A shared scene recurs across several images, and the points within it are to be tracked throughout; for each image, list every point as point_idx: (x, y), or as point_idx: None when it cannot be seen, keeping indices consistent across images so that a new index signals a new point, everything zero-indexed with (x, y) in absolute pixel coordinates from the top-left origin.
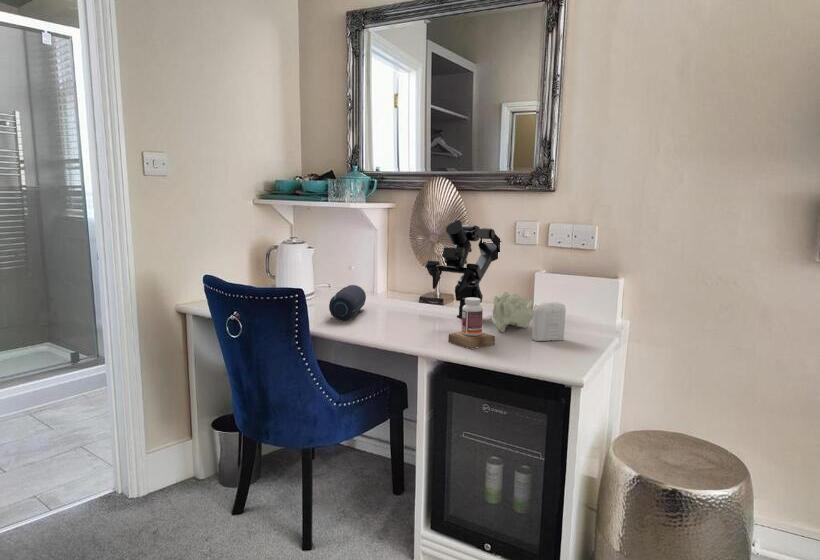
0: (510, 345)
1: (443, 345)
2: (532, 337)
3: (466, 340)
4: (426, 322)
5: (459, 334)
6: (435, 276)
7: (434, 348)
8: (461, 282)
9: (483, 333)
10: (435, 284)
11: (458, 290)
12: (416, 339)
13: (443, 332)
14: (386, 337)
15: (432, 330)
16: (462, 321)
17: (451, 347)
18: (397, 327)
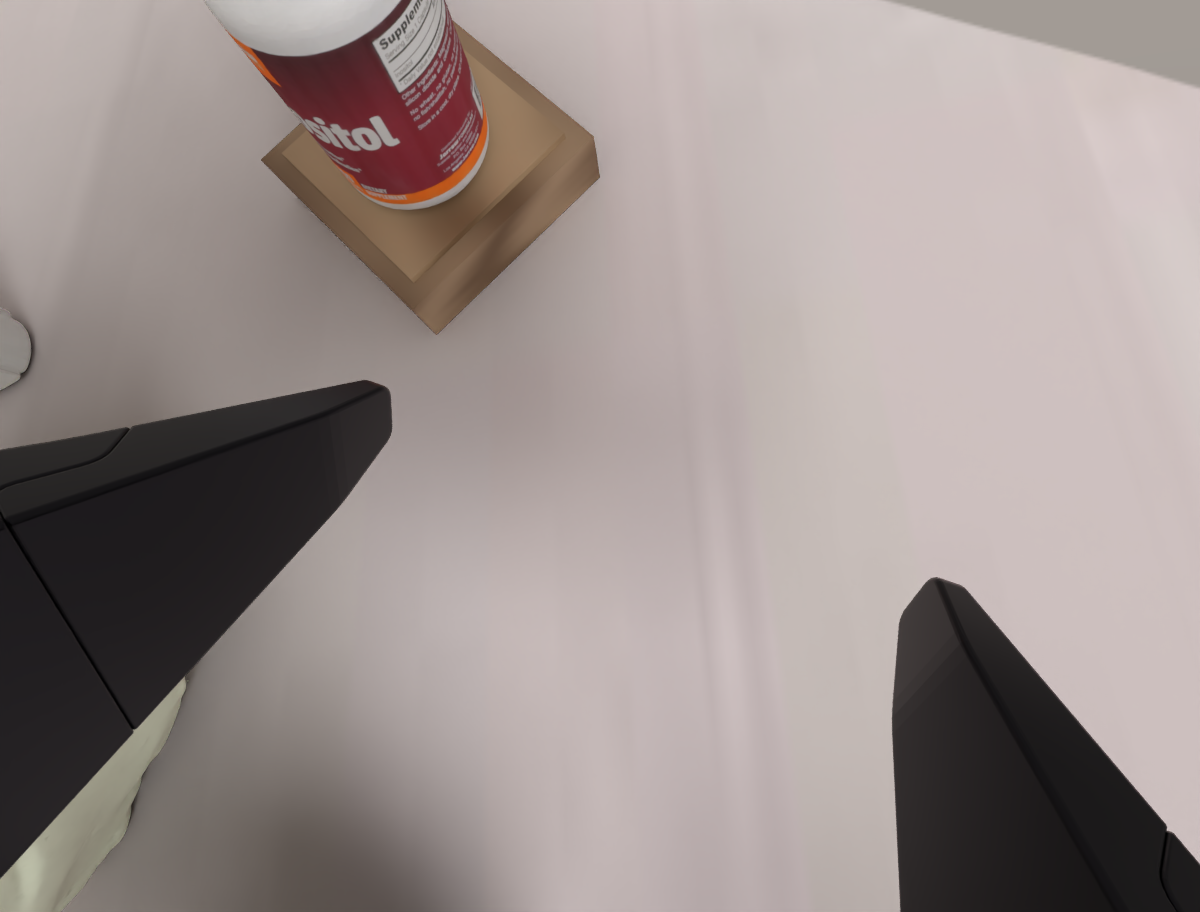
0: (203, 193)
1: (627, 90)
2: (16, 343)
3: (465, 34)
4: (853, 797)
5: (509, 110)
6: (1118, 886)
7: (679, 14)
8: (222, 436)
9: (331, 181)
10: (933, 684)
11: (387, 396)
12: (836, 185)
13: (653, 433)
14: (1082, 184)
15: (751, 481)
16: (457, 34)
17: (573, 61)
18: (1092, 527)
